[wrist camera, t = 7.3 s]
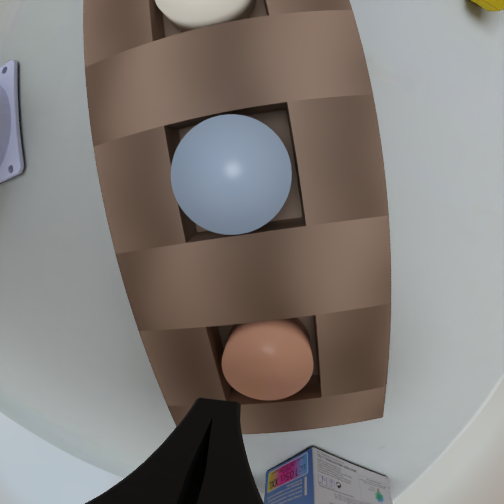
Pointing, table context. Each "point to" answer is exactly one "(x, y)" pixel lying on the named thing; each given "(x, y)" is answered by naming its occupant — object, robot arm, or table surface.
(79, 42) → the table surface
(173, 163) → the slate blue button
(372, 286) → the button panel
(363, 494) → the ink cartridge box
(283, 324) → the terracotta button
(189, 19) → the cream button
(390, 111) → the table surface
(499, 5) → the watch
